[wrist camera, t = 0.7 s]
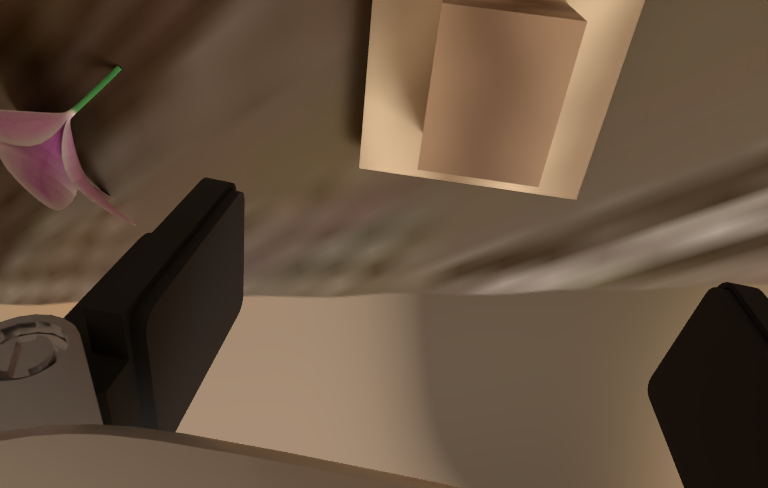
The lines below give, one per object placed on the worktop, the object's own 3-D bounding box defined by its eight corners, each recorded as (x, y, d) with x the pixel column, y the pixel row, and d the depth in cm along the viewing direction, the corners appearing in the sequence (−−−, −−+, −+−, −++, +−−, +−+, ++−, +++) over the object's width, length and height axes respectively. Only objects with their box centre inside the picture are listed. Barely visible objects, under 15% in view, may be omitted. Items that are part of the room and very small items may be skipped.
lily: (-28, -6, 29) (-181, 109, 25) (85, -47, 23) (-92, 96, 19) (126, 150, 38) (33, 256, 33) (239, 150, 32) (143, 281, 27)
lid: (656, -53, 22) (705, -44, 18) (573, 193, 29) (593, 244, 25) (381, -86, 23) (362, -85, 19) (361, 162, 30) (343, 206, 25)
